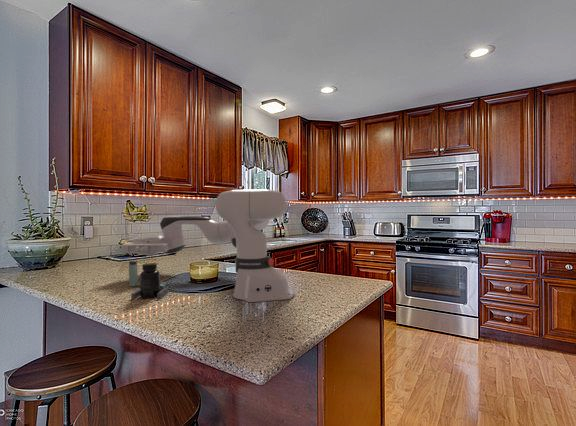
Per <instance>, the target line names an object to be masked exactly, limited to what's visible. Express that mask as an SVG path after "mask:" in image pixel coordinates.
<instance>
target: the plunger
mask: <svg viewBox="0 0 576 426" xmlns="http://www.w3.org/2000/svg"><path fill="white" fill-rule="evenodd" d="M128 262H129V263H128V281H129V282H128V285H129V287H137V286H139V287H140V281H138V279H139V277H138V261H137V260H130V261H128ZM166 284H167V285H168V282H167V281H160V291H161V290H163V289H164V288H166V286H167V285H166Z"/></svg>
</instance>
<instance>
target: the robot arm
mask: <svg viewBox="0 0 576 426" xmlns="http://www.w3.org/2000/svg"><path fill="white" fill-rule="evenodd" d="M218 194H219V195H218V196H217V197H216V200H215V210H216V212H217V214H218V215H219V216H220V218H221V219H223V220H220V221H217V220H213V219H212V218H211V217H209V216H198V215H197V216H187V215H186V216H178V215H167V216H164V217H163V218H162V219H161V221H160V223H159V226H160V229H161V231H162V235H161V234H157V235H154V236H148V237H144V238H138V239H132V240H131V241H128V242H125V243H123V244H121V246H120V247H121V249H120V250H121V253H123V254H127V253H128V254H129V253H130V254H131V253H132V254H137V255H138V254H139V255H144V256H148V257H151V256H156V255H157V254H160V253H164V254H166V255H170V254H171V255H172V254H174V253H177V252H180V251H182V250H183V249H184V248H185V247H186V240H185V235H184V230H183V225H195V226H196V227H198V228H199V230H200V231H201V233H202V234H203V237H204V238H205V239H206V240H207V241H208V242H209V243H211V244H213V245H221V244H228V243H231V245H232V246H233V247H234V248H235V249H236V257H235V261H234V262H235V263H234V265H235V267H234V268H235V273H236V275H235V276H236V277H235V285H234V290H233V294H232V296H233V298H235V299H237V300H243V301H245V302H248V303H258V302H266V301H267V302H268V301H281V300H292V298H293V297H294V296H295V293H294V292H295V291H294V288H291V287H289V285H288V280H287V277H286V276H285V275H284V274H283V273H282V272H280V271H279V270H277V268H275V267H274V266H273V265H274V259H273V258H272V257H270V256H268V254H267V253H268V251H267V249H268V248H267V242H268V241H267V236H266V234H265V233H264V232H263V230H264V229H266V228H267V226H268V224H269V223H270V220H274V219H278V218H281V217H282V216H283V215H284V213H285V211H286V209H287V200H286V197H285V196H284V194H283V193H282V192H281V191H278V190H272V189H232V190H231V189H230V190H227V191H222V192H220V193H218Z"/></svg>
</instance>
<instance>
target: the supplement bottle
mask: <svg viewBox="0 0 576 426" xmlns="http://www.w3.org/2000/svg"><path fill="white" fill-rule="evenodd" d="M157 269H158V267H157V263H155V262H153V263H152V262H149V263H143V264H142V271H141V272H140V274H139V282H140V286H139V289H140V296H139V297H141V299H152V298H157V293H158V292H160V282H161V276H160V275H161V273H160V271H159V270H157Z"/></svg>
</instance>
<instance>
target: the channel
mask: <svg viewBox="0 0 576 426" xmlns="http://www.w3.org/2000/svg"><path fill="white" fill-rule="evenodd" d="M167 294H169V287H165V288H164V289H163V290H161V291H160V292H158V293H157V297H156V298H157V300H160V299H162V298H164V297H165V296H166V295H167ZM130 297H131V300H136V299H137V298H139V297H141V296H140V288H139V289H137V290H135V291H134V292H132V293H131V296H130Z"/></svg>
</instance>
